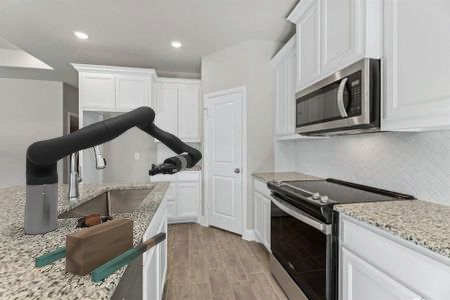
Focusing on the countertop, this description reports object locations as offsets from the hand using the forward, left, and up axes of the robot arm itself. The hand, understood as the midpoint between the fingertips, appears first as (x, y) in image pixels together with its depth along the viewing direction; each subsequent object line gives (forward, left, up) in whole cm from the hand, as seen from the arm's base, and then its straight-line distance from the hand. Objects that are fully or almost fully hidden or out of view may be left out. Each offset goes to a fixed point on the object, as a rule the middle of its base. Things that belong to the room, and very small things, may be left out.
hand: (150, 173), depth 85 cm
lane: (+1, -19, -21) cm, 29 cm away
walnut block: (+3, -24, -22) cm, 33 cm away
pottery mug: (-15, -11, -22) cm, 29 cm away
